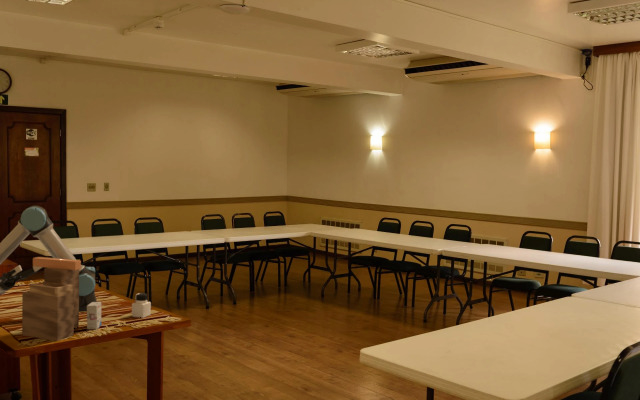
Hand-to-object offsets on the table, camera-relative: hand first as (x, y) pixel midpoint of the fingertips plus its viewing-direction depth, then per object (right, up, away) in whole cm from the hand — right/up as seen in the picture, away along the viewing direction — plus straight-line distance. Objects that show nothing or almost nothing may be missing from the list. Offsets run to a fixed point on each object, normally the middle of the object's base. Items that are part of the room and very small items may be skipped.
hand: (32, 265), depth 301 cm
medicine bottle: (+46, -30, +26) cm, 61 cm away
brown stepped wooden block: (+17, -31, -10) cm, 36 cm away
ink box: (+30, -31, +1) cm, 43 cm away
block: (+15, 0, -5) cm, 16 cm away
